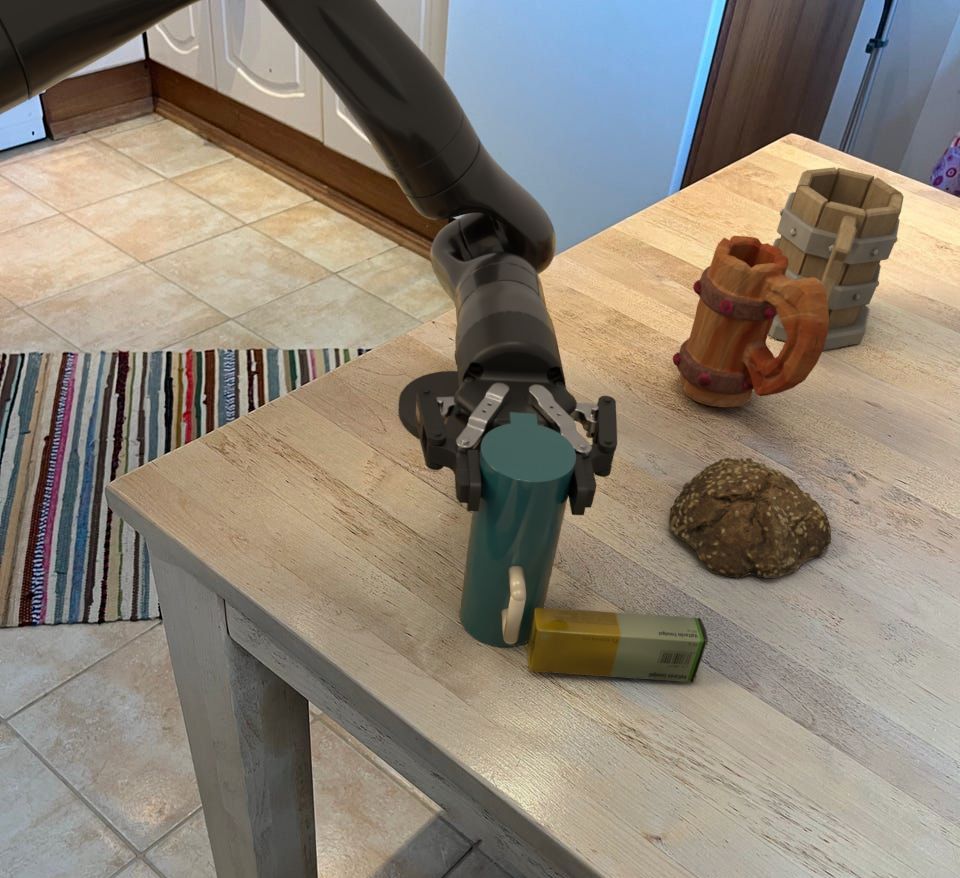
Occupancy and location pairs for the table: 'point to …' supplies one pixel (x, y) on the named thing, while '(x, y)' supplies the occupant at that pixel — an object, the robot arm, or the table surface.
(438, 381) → the disc
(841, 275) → the tankard
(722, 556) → the bread roll
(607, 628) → the medication box
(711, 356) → the mug
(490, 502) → the jug
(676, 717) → the table surface
